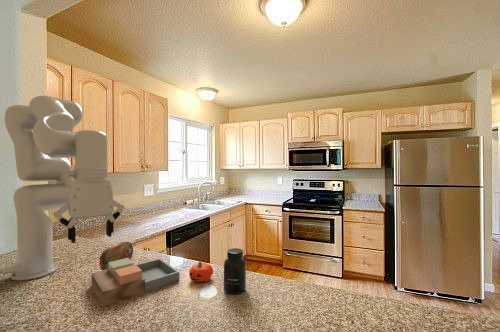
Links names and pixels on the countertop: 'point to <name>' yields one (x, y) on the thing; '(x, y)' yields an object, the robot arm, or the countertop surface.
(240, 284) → the supplement bottle
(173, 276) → the box
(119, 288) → the tan slab
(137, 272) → the tile
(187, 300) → the countertop surface
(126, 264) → the tile
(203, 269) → the pumpkin
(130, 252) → the tin
